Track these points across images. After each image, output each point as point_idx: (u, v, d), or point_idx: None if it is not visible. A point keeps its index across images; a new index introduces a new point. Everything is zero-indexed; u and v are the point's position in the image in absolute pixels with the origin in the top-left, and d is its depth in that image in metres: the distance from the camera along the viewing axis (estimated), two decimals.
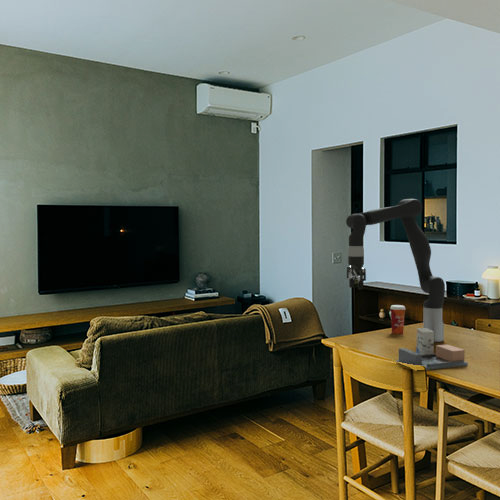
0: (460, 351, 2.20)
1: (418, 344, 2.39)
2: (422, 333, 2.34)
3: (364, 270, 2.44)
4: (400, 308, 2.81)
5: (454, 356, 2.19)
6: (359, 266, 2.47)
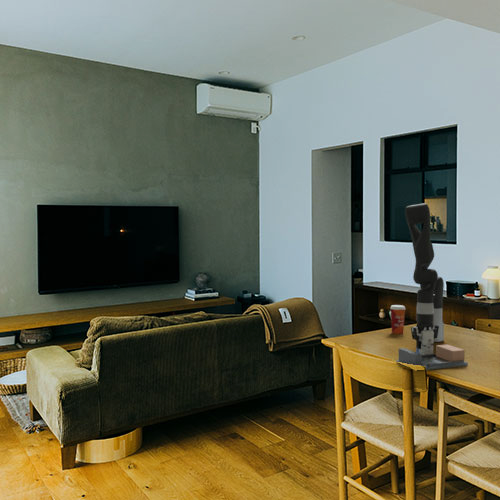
0: (460, 351, 2.20)
1: None
2: (422, 333, 2.34)
3: None
4: (400, 308, 2.81)
5: (454, 356, 2.19)
6: None
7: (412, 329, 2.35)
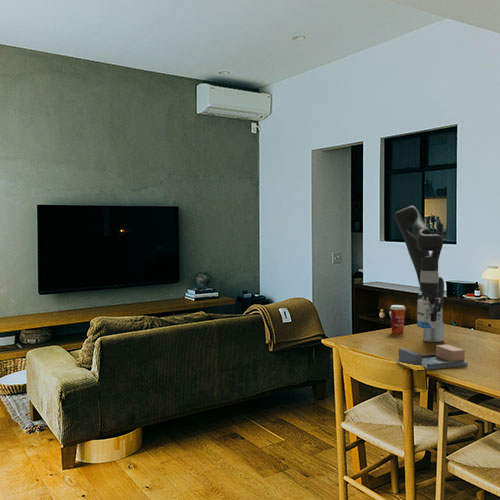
0: (460, 351, 2.20)
1: (427, 317, 2.18)
2: None
3: None
4: (400, 308, 2.81)
5: (454, 356, 2.19)
6: None
7: (439, 300, 2.14)
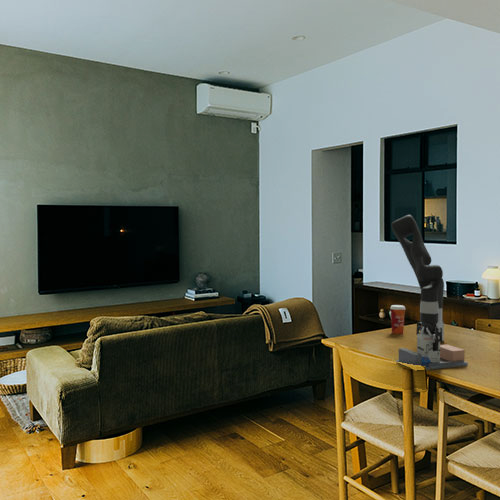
0: (460, 351, 2.20)
1: (427, 352, 2.19)
2: None
3: None
4: (400, 308, 2.81)
5: (454, 356, 2.19)
6: None
7: (439, 329, 2.15)
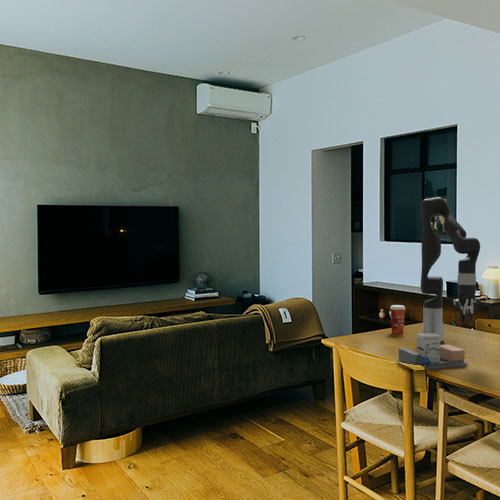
0: (460, 351, 2.20)
1: (427, 352, 2.19)
2: (438, 338, 2.20)
3: None
4: (400, 308, 2.81)
5: (454, 356, 2.19)
6: None
7: (454, 303, 2.25)
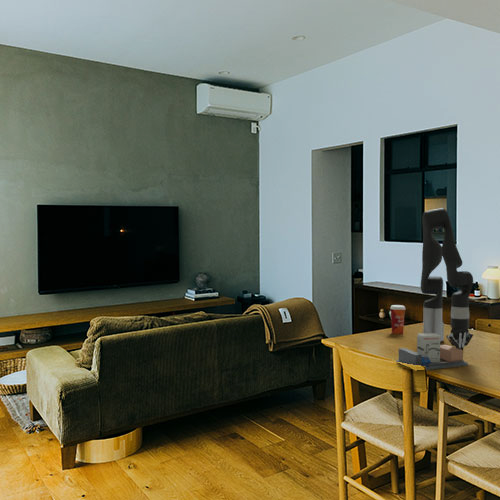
0: (459, 351, 2.20)
1: (427, 352, 2.19)
2: (438, 338, 2.20)
3: None
4: (400, 308, 2.81)
5: (453, 356, 2.19)
6: None
7: (448, 338, 2.24)
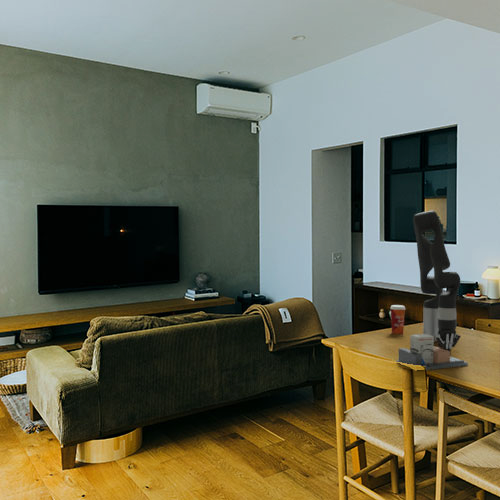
0: (446, 353, 2.18)
1: (422, 353, 2.17)
2: (431, 338, 2.18)
3: None
4: (400, 308, 2.81)
5: (439, 358, 2.17)
6: None
7: (435, 339, 2.22)
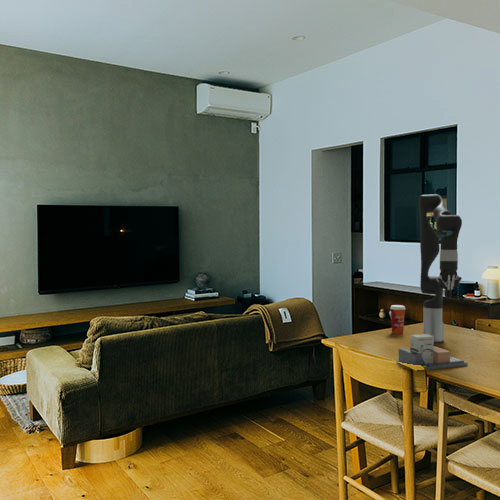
0: (446, 353, 2.18)
1: (422, 353, 2.17)
2: (431, 338, 2.18)
3: None
4: (400, 308, 2.81)
5: (439, 358, 2.17)
6: None
7: (437, 280, 2.30)
